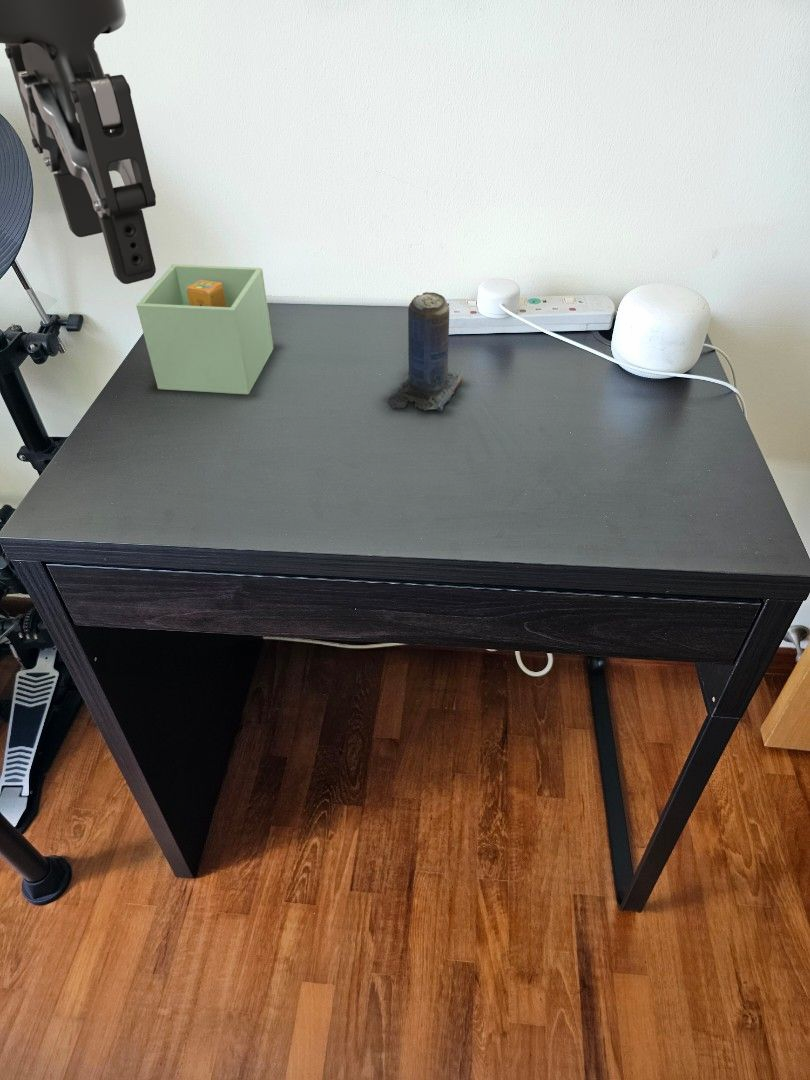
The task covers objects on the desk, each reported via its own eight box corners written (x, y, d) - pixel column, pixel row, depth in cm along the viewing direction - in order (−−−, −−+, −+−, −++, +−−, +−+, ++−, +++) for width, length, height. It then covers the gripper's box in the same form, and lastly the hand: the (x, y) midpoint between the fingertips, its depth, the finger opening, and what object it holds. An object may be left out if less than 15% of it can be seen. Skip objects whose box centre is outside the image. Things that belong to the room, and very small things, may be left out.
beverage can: (451, 417, 88) (454, 317, 80) (384, 410, 90) (381, 311, 82) (464, 376, 95) (468, 280, 87) (402, 370, 96) (400, 275, 88)
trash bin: (248, 394, 93) (234, 309, 86) (157, 389, 94) (135, 305, 87) (273, 348, 101) (262, 267, 94) (189, 344, 102) (172, 264, 95)
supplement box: (238, 359, 98) (224, 281, 91) (222, 372, 95) (207, 293, 89) (216, 354, 99) (200, 276, 92) (199, 367, 96) (183, 288, 90)
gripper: (-92, -90, 40) (18, 233, 51) (-32, -73, 31) (87, 315, 42) (58, -98, 43) (132, 208, 54) (152, -85, 34) (218, 279, 45)
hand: (112, 255), depth 48 cm, fingers open, 8 cm apart
